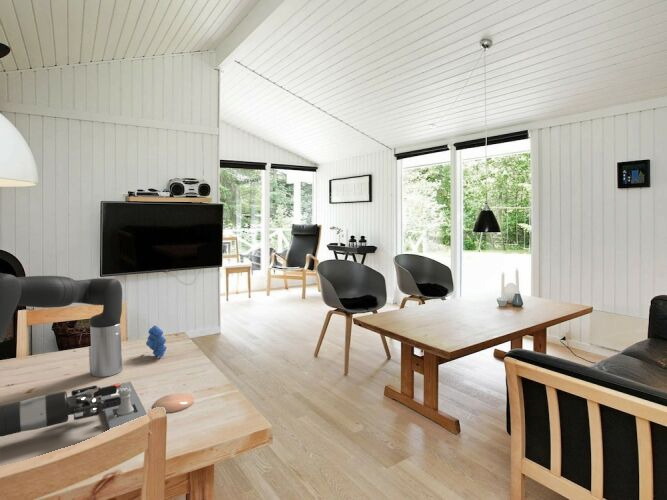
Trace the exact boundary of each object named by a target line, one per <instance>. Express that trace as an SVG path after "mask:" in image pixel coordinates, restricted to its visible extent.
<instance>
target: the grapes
mask: <svg viewBox="0 0 667 500" xmlns="http://www.w3.org/2000/svg"><path fill="white" fill-rule="evenodd" d="M147 333H148V334H149V335H148V337H147V341H146V343H145V345H146V346H147V347H149V349H150V350H152V354H153V355H154V356H155V357H159V358H163V357H164V355H165V352H166V350H167V346H166V345H165V344H166V342H167V339H166V338H165V337H164V336H163V335H164V331H163V330H162V329H160V328H159V327H158V326H157V325H153V326H152V327H150V328H149V330H148V331H147Z"/></svg>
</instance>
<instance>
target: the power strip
mask: <svg viewBox="0 0 667 500" xmlns="http://www.w3.org/2000/svg"><path fill="white" fill-rule="evenodd" d="M113 385H116V389H117V392H116V393H115V394H111V395H107V396H102V397H101V396H100V397H99V400H105V399H109V398H113V397H118V396H119V397H120V395H119V394H118V391H119V388H121V387H123V388H125V386H129V387H130V389H131V392H130V395H131V396H130V402H131V405H132V407H133V408H134V413H132V414H128V415H124V416H120V417H115V415H117V413H116V412H117V410H118V408H119V406H115V407H111V408H106V409H104V411H103V413H104V417H105V421H106V423H107V428H108V429H110V428H113V427H116V426H119V425H122V424H124V423H126V422H129V421H131V420H134V419H136V418H139V417H141V416H144V415H146V414H147V415H148V413H147V410H146V409H145V407H144V405H143V403H142V402H141V399H140V397H139V395H138V393H137V391H136V389H135V387H134V386H133V383H132V382H131V381H125V382H121V383H113V384H110V386H113ZM108 386H109V385H108ZM108 386H105V387H108ZM103 387H104V386H102V387H100V389H101V388H103Z"/></svg>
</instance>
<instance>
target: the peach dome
mask: <svg viewBox="0 0 667 500" xmlns="http://www.w3.org/2000/svg"><path fill="white" fill-rule="evenodd" d="M194 403H195V397H194V396H193V395H192V394H189V393H186V392H185V393H183V392H181V393H171V394H167V395H164V396H161V397H159V398H158V399H156V401H154V403H153V409H154V408H156V407H164V408H165V410H166V413H167V414H168V413H176V412H179V411H182V410H183V411H184V410H186V409H188V408H190V407H192V405H193V404H194ZM166 413H165V414H166Z"/></svg>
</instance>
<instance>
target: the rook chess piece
mask: <svg viewBox="0 0 667 500" xmlns="http://www.w3.org/2000/svg"><path fill="white" fill-rule="evenodd" d="M130 392H131V389H130V387H129V386H125V388H123V387H121V388H119V391H118V394H119V395H120V398H121V404H120V405H119V408H118V410H117V412H116V413H117V414H116V417H120V416H124V415H128V414H132V413H135V409H134V408H133V407H132V405H131V402H130V396H131V395H130ZM116 417H115V418H116Z"/></svg>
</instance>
